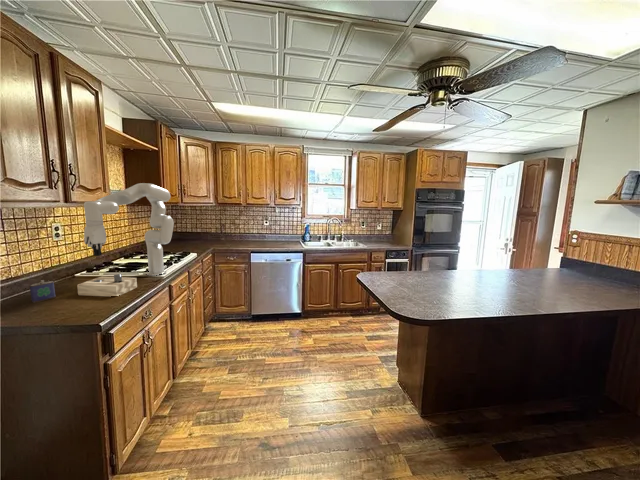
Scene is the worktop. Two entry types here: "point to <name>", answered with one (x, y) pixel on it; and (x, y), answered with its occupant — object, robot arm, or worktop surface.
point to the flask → (42, 291)
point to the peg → (117, 278)
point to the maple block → (106, 287)
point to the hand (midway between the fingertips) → (97, 255)
